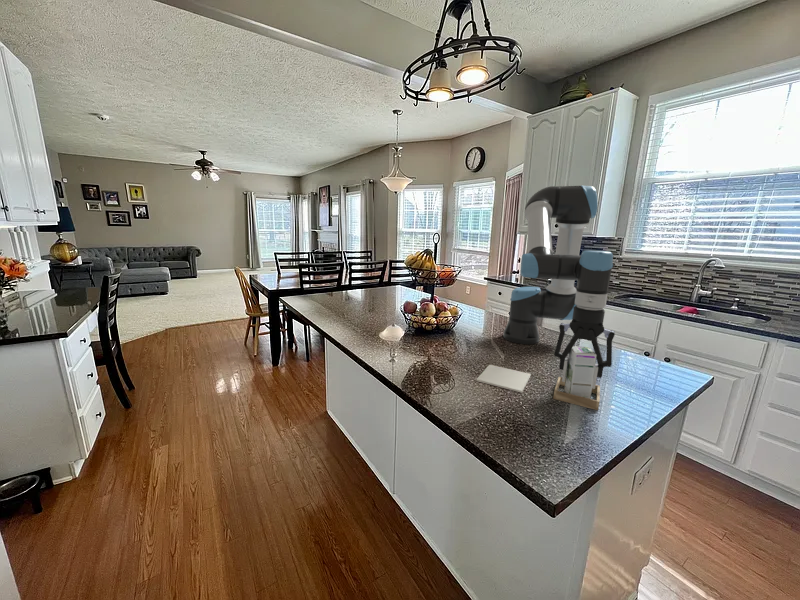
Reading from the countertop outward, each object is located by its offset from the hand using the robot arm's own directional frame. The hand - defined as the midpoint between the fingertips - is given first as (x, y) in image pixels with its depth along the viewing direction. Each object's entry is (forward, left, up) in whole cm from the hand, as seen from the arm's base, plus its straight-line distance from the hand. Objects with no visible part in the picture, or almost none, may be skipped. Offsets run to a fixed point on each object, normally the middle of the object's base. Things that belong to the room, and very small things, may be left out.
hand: (578, 383), depth 95 cm
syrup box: (0, 0, -4) cm, 4 cm away
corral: (0, 0, -4) cm, 4 cm away
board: (0, -21, -4) cm, 21 cm away
